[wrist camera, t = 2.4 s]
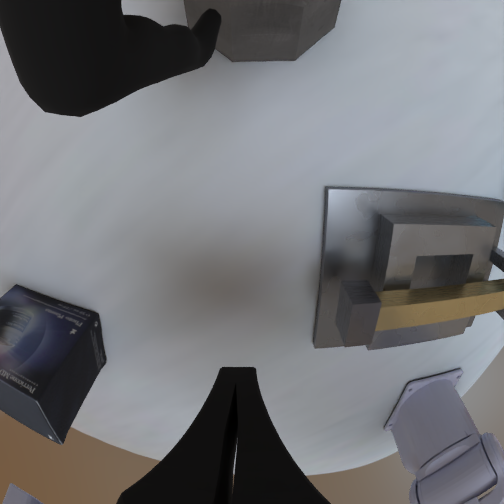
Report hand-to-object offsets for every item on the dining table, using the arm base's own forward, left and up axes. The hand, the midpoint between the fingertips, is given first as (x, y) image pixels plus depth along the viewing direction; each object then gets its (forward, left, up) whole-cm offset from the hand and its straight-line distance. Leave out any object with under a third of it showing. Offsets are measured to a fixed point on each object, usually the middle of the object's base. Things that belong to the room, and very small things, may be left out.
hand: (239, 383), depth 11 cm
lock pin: (0, -13, -6) cm, 14 cm away
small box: (-5, +18, -10) cm, 21 cm away
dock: (0, -13, -9) cm, 16 cm away
